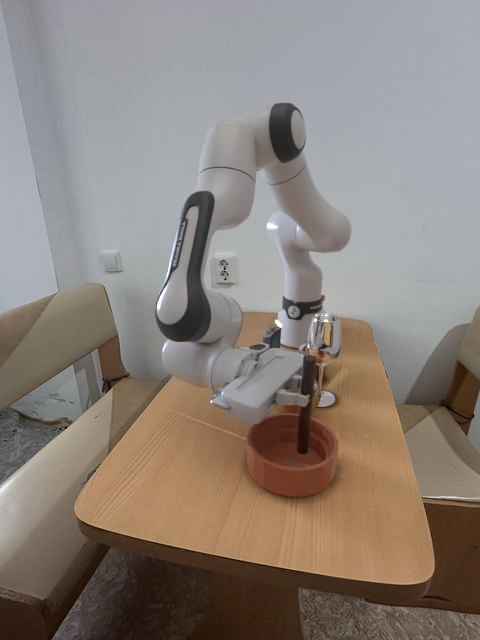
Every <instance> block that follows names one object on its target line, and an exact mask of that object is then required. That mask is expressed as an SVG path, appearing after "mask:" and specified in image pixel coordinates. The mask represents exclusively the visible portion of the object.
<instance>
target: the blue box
mask: <svg viewBox="0 0 480 640" xmlns="http://www.w3.org/2000/svg"><path fill="white" fill-rule="evenodd" d="M266 327H268V328H267V330H266V331H264V333H263V335H262V337H261V340H262V342H261V343H265V344H268V345H269V346H270V349H271V348H279V349H281V343H280V340H281V327H278V326H277V325H273V324H271V323H269V324H267V326H266Z"/></svg>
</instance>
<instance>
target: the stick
mask: <svg viewBox="0 0 480 640" xmlns="http://www.w3.org/2000/svg"><path fill="white" fill-rule="evenodd" d="M315 369H316V357H315V356H312V355H306V356H304V357H303V369H302V383H301V391H302V392H304V393H308V394H309V395H310V401H309V403H308V404H307V405H306V406H305V407H302V406H300V410H299V424H298V438H297V452H298V453H299V454H307V453H308V448H309V436H310V425H311V417H312V414H313V413H312V412H313V411H312V403H313V392H314V380H315Z"/></svg>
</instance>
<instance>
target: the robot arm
mask: <svg viewBox="0 0 480 640" xmlns="http://www.w3.org/2000/svg"><path fill="white" fill-rule="evenodd" d="M306 133H307V131H306V124H305V119H304V117H303V114H302V112H301V110H300V109H299V107H297V106H295V104H293V103H292V102H277V103H276V102H275V103H274V104H273V105H270V106H269V105H268V106H263V107H259V108H254V109H250V110H247V111H245V112H244V113H241V114H239V115H236V116H234V117H231V118H224V119H220V120H218V121H216V122H214V123H213V124H211V126H210V127H209V128H208V130H207V133H206V135H205V138H204V141H203V145H202V149H201V153H200V158H199V163H198V171H197V176H196V178H197V179H196V185H195V190H194V192H193V193H191V194H190V195H189V196H188V197H187V199H186V200H185V201H184V204H183V206H182V209H181V212H180V215H179V219H178V224H177V227H176V231H175V232H176V233H175V236H174V241H173V245H172V249H171V252H170V257H169V261H168V266H167V269H166V274H165V277H164V280H163V283H162V285H161V288H160V290H159V293H158V294H157V297H156V299H155V304H154V317H155V322H156V325H157V327H158V329H159V331H160V332H161V334H162V335H163V336H164V337H165V338H166V339H167V340H166V341H165V343H164V344H163V347H162V350H161V361H162V365H163V367H164V369H165V370H166V371H167V373H168V374H169V375H171V376H172V377H174V378H175V379H177V380H178V381H181V382H183V383H186V384H188V385H191V386H193V387H196V388H199V389H209V390H210V391H212V392H213V393H212V394H211V395H210V400H209V402H210V404H211V406H212V407H214V408H217V409H220V410H222V411H223V413H225V414H226V415H227V416H230V417H231V418H233V419H235V420H238V421H240V422H242V423H244V424H246V425H250V426H251V425H252V426H253V425H254V424H259V423H260V422H261V421H262V420H263V419H264V418H265V417H266V416H269V415H270V413H271V412H272V411H273V410H274V409H275V408H276V407H277V406H278V404H280V405H283V406H284V405H299V406H302V407H305V406H306V405H307V404H308V403H309V401H310V395H309V394H308V393H304V392H302V391H299V392H298V393H290V391H291V390H292V389H295V390H298V388H299V389H300V390H301V383H302V369H303V357H304V355H302V354H299V353H295V351H292V350H288V349H284V348H280V349H279V348H271V349H270V346H269V345H268V344H265V343H262V342H259V343H256V344H253V345H250V346H244V347H241V348H240V347H235V346H236V344H237V342H238V339H239V337H240V333H241V330H242V328H243V323H244V316H243V311H242V308H241V306H240V304H239V303H238V302H237V300H235V299H233V298H232V297H230V296H227V295H224V294H222V293H219V292H216V291H212V290H210V289H208V288H207V287H206V284H205V280H204V279H205V277H204V276H205V271H206V266H207V261H208V257H209V252H210V248H211V242H212V238H213V236H214V235H215V233H216V232H217V231H226V230H232V229H235V228H237V227H239V226H241V225H242V224H243V223H245V222H246V221H247V220H248V218H250V216H251V212H252V210H253V206H254V201H255V193H256V181H257V180H256V179H257V172H260V175H261V178H262V180H263V182H264V185H265V187H266V189H267V191H268V194H269V196H270V199H271V201H272V204H273V205H274V207H275V208H276V209H277V211H274V212H273V213H272V214H271V215H270V216H269V218H268V219H267V222H266V228H265V229H266V237H267V238H268V240H269V242H270V243H271V244H272V245H273V246H274V248H275V249H276V251H277V252H278V255H279V257H280V259H281V263H282V266H283V272H284V290H283V291H284V294H283V296H282V300H281V304H282V305H281V307H282V309H281V310H280V311H278V313H277V319H275V321H274V323H275V325H276V326H278V327H281V340H280V345H283V346H285V347H289V348H294V349H298V348H299V347H300V346H302V345H303V344H304V342H306V339H307V335H308V331H309V328H310V325H311V322H312V319H313V316H314V315H316V314H320V313H327V312H326V311H325V310H324V309H323V308H324V306H323V305H324V301H325V300H326V296H325V294H322V292H323V291H322V289H323V279H324V278H323V277H324V275H323V271H322V269H321V267H320V266H319V265H318V264H317V263H315V262H314V261H313V259H312V256H311V254H310V252H313V253H319V254H327V253H328V254H329V253H338V252H341V251H343V250H344V249H345V248H346V247H347V245H348V244H349V242H350V240H351V237H352V231H353V230H352V225H351V224H352V223H351V222H350V219H349V217H348V216H347V215H346V214H344V213H342V212H340V211H338V210H337V209H336V208H335V207H333V206H332V205H331V204H330V203H329V201H327V200H326V198H324V196H323V195H322V194H321V193H320V191H319V189H318V188H317V186H316V185H315V182H314V179H313V177H312V174H311V170H310V168H309V165H308V161H307V159H306V156H305V153H304V149H305V146H306V139H307V134H306ZM236 348H238V349H236ZM317 391H318V386H317V385H316V384H314V392H313V397H314V396H315V395H316V393H317Z"/></svg>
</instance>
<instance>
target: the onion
mask: <svg viewBox="0 0 480 640" xmlns="http://www.w3.org/2000/svg"><path fill="white" fill-rule="evenodd" d="M314 384H316V385H317V386H318V391H317V393H316V395H315V396H314V397H313V403H312V412H314V411H315V410H316V409H317V408H318V407H317V406H318V404H319V402H320V399H321V391H322V389H321V390H320V387H319V385H318V383H317V381H316V379H315V380H314ZM299 391H301V390H300V389H299V388H298V390H295V389H292V390H291V391H290V393H298V392H299ZM277 406H278V407H279V408H280V409H281V410H282V411H283V412H284V413H295V414H299V410H300V406H299V405H284V406H283V405H280V404H277Z"/></svg>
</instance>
